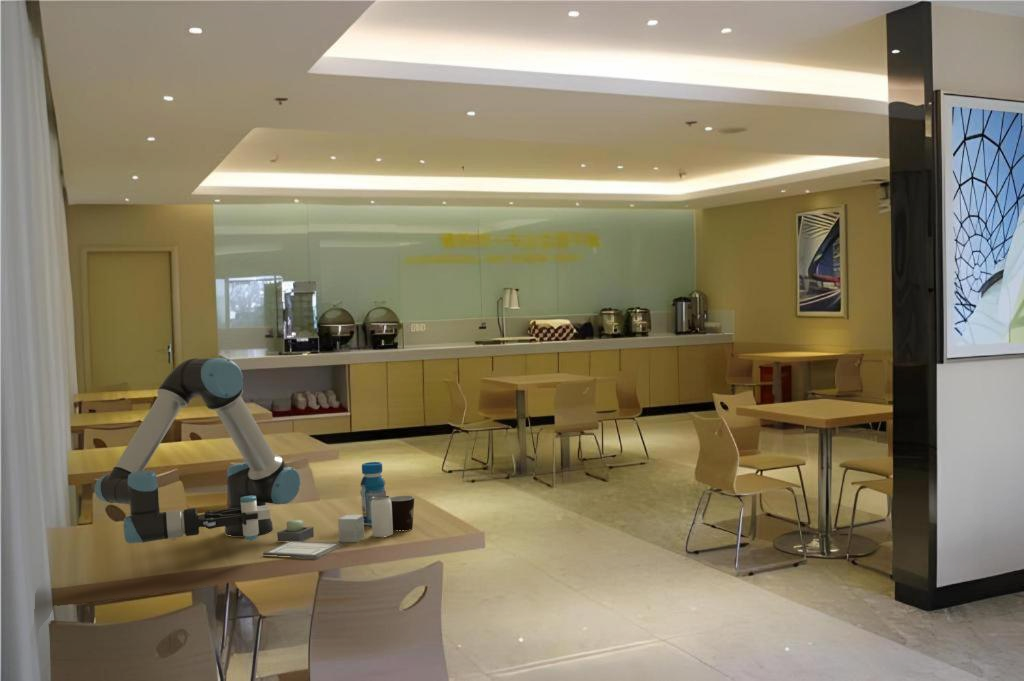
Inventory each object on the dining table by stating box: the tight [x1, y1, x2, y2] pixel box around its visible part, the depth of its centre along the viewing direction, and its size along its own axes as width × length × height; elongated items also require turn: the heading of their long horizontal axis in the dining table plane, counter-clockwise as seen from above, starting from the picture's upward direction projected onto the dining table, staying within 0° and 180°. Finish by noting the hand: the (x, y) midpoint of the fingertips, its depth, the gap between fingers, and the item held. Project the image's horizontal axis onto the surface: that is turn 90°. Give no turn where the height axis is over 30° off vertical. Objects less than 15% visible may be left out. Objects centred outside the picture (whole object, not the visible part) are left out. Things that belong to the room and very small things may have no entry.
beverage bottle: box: [360, 461, 387, 526], centre depth 307 cm, size 8×8×20 cm
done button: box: [286, 519, 304, 532], centre depth 290 cm, size 5×5×3 cm
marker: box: [240, 496, 259, 541], centre depth 266 cm, size 4×4×12 cm
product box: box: [337, 514, 365, 543], centre depth 285 cm, size 6×6×7 cm
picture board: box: [262, 540, 342, 560], centre depth 274 cm, size 18×14×1 cm
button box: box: [276, 526, 315, 542], centre depth 290 cm, size 8×8×3 cm
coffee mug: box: [389, 495, 415, 532], centre depth 298 cm, size 12×9×10 cm
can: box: [371, 495, 394, 538], centre depth 289 cm, size 6×6×12 cm
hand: (268, 511), depth 267 cm, fingers closed on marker, 4 cm apart
